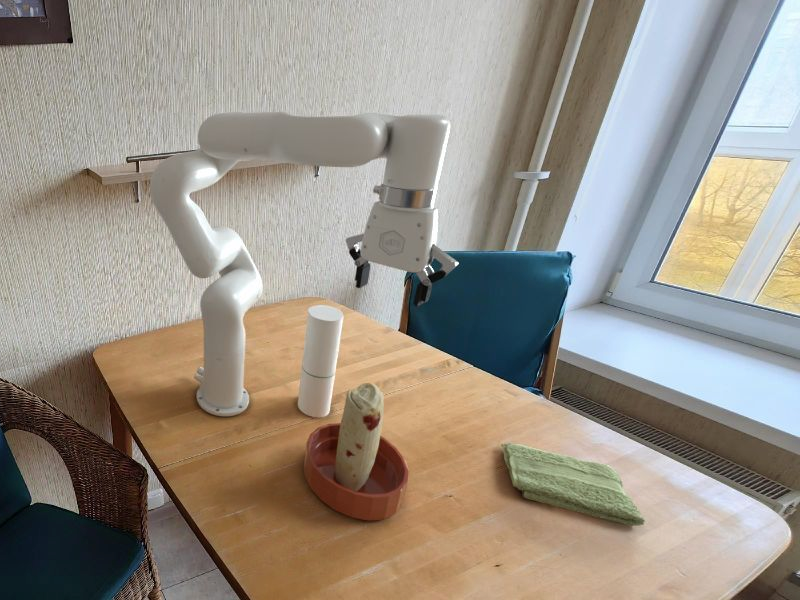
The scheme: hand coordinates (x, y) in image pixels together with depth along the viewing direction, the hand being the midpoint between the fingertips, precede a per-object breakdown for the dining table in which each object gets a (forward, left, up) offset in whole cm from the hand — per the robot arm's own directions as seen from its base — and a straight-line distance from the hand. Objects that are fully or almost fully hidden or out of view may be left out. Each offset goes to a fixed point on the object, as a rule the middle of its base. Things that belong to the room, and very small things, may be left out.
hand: (389, 294), depth 74 cm
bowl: (+2, -7, -36) cm, 37 cm away
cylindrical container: (-14, +6, -36) cm, 40 cm away
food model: (+2, -7, -36) cm, 37 cm away
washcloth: (+28, +21, -36) cm, 51 cm away
